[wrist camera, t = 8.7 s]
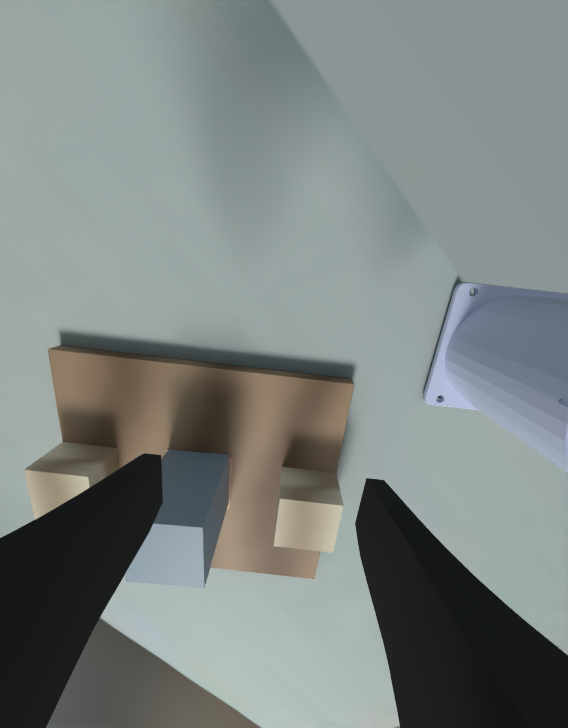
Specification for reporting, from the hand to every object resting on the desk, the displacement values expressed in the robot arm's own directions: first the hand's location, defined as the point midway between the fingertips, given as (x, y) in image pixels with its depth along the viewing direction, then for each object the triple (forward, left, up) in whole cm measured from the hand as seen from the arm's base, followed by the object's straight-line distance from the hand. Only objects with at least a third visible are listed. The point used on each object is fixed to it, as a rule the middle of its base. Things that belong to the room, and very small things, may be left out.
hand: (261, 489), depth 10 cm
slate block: (+5, +8, -9) cm, 13 cm away
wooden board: (+5, +8, -10) cm, 14 cm away
